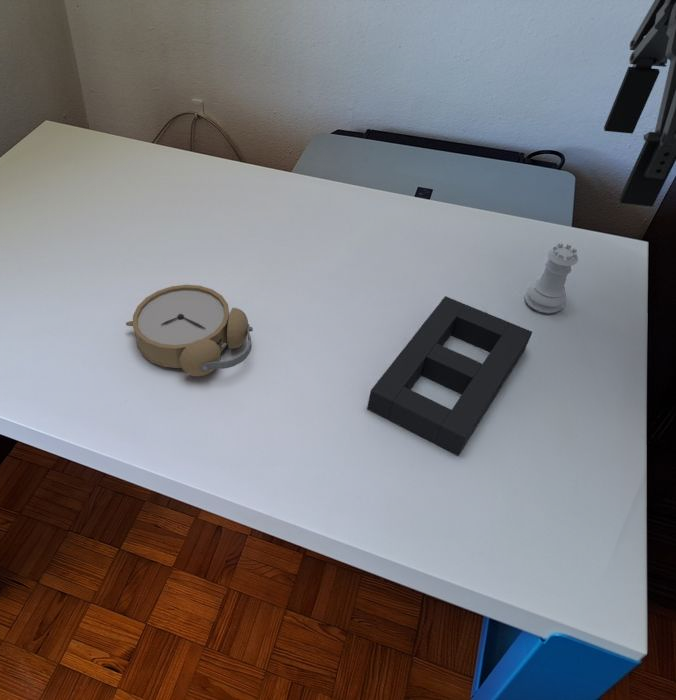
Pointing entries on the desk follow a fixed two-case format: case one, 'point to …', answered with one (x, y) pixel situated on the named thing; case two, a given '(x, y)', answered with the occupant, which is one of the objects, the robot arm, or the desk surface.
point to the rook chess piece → (552, 280)
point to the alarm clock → (189, 329)
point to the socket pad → (449, 374)
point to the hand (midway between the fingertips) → (626, 164)
